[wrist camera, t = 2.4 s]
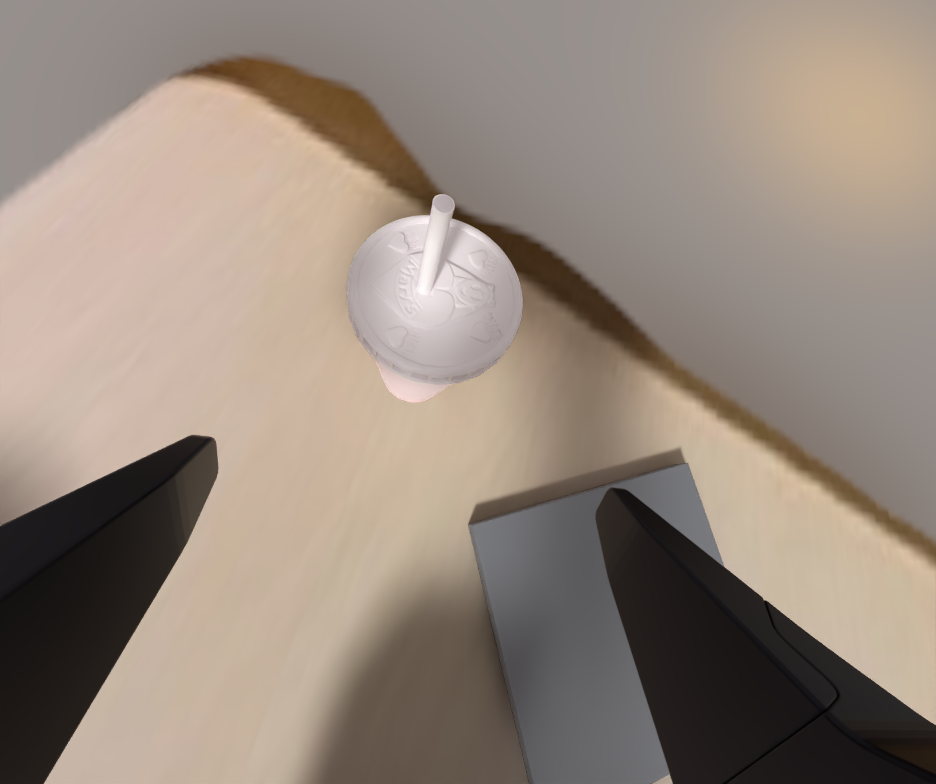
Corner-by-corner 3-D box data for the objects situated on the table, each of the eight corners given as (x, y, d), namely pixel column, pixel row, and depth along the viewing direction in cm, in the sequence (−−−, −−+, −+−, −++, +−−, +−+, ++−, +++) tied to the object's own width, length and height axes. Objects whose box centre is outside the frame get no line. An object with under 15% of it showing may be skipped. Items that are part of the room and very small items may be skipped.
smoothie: (359, 316, 23) (339, 82, 10) (467, 323, 25) (572, 126, 12) (354, 425, 22) (322, 315, 9) (469, 426, 23) (594, 334, 10)
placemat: (538, 823, 19) (547, 839, 18) (468, 524, 22) (472, 525, 21) (759, 706, 23) (776, 716, 22) (676, 464, 26) (687, 463, 25)
